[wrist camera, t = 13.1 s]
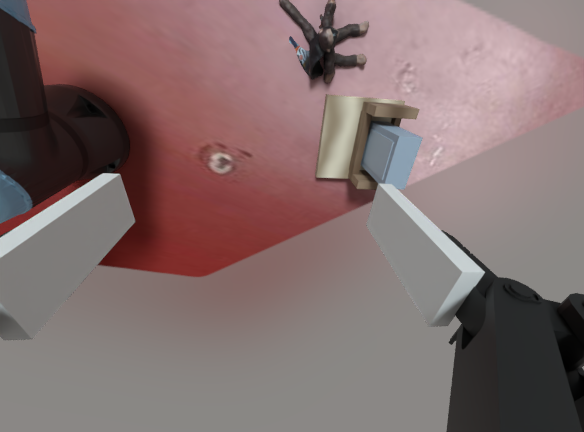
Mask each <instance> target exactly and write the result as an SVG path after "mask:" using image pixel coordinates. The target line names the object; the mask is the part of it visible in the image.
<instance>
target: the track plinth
mask: <svg viewBox="0 0 584 432" xmlns="http://www.w3.org/2000/svg"><path fill="white" fill-rule="evenodd" d="M404 103H405V101H402V100H390V99H377V98H364V97H351V96H338V95H326V98H325V105H324V113H323V120H322V128H321V135H320V142H319V150H318V157H317V165H316V172H315V175H316V177H319V178H344V179H350V180H351V182H352V183H353V184H354V186H355V187H356V188H357V189H374V190H377V186H378V182H377V181H376V180H375V179H374V178H373V177H372V176H371V175H370V174H369V173H368V172H367V171H366V170H365V169H364V168H363V167H362V166H361V161H362V157H363V153H364V148H365V144H366V140H367V136H368V131H369V127H370V123H371V121H385V122H389V123H391V124H393V125H395V126H398V127H399V125H400V122H401V119H402V118H405V119H416V118H417V115H418V112H419V109H417V108H414V107H410V106H406V105H404Z"/></svg>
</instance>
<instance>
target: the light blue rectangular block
mask: <svg viewBox="0 0 584 432" xmlns="http://www.w3.org/2000/svg"><path fill="white" fill-rule="evenodd" d="M421 141H422V137H420V136H418V135H415V134H413V133H411V132H409V131H407V130H404V129H402V128H400V127H398V126H395V125H393V124H391V123H389V122H385V121H371V123H370V127H369V131H368V136H367V140H366V144H365V148H364V153H363V157H362V161H361V166H362V167H363V168H364V169H365V170H366V171H367V172H368V173H369V174H370V175H371V176H372V177H373V178H374V179H375V180H376V181H377V182H378V184H392V185H393V186H394V187H395V188H396V189H405V186H406V183H407V180H408V178H409V175H410V172H411V169H412V166H413V164H414V161H415V158H416V155H417V152H418V150H419V147H420V144H421Z"/></svg>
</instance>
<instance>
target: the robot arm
mask: <svg viewBox="0 0 584 432" xmlns="http://www.w3.org/2000/svg"><path fill="white" fill-rule="evenodd" d="M34 33H36V29H35V27H34V26H33V25H32V22H31V18H30V14H29V10H28V6H27V2H26V0H0V223H2V222H5V221H7V220H9V219H11V218H13V217H15V216H17V215H19V214H23V213H26V212H27V211H29V210H30V209H31V208H33V207H35V206H36V205H38V204H40V203H41V202H43V201H44V200H46V199H48V198H49V197H51V196H53V195H54V194H56V193H57V192H59V191H61V190H62V189H64V188H66V187H67V186H69V185H70V184H72V183H74V182H75V181H77V180H83V179H91V178H95V179H93V180H91V181H90V182H88V183H87V184H85V185H83V186H82V187H80V188H79V189H77V190H75V191H74V192H72V193H71V194H69V195H67V196H66V197H64V198H63V199H61V200H59V201H58V202H56V203H55V204H53V205H52V206H50V207H48V208H47V209H45V210H44V211H42V212H40V213H39V214H37V215H36V216H34V217H32V218H31V219H29V220H28V221H26V222H24V223H23V224H21V225H20V226H18V227H16V228H15V229H13V230H11V231H9V232H6V233H4V234H3V235H1V236H0V337H1V338H2V339H3V340H25V339H33V338H34V337H35V335H36V334H37V333H38V332H39V331H40V330H41V328H42V327H43V326H44V325H45V324H46V323H47V322H48V320H49V319H50V318H51V317H52V316H53V315H54V314H55V312H56V311H57V310H58V309H59V308H60V307H61V306H62V305H63V303H64V302H65V301H66V300H67V299H68V298H69V297H70V295H71V294H72V293H73V292H74V291H75V290H76V289H77V288H78V286H79V285H80V284H81V283H82V282H83V281H84V279H85V278H86V277H87V276H88V275H89V274H90V273H91V272H92V270H93V269H94V268H95V267H96V266H97V265H98V264H99V262H100V261H101V260H102V259H103V258H104V257H105V256H106V254H107V253H108V252H109V251H110V250H111V249H112V248H113V247H114V245H115V244H116V243H117V242H118V241H119V240H120V239H121V237H122V236H123V235H124V234H125V233H126V232H127V231H128V229H129V228H130V227H131V226H132V225H133V224H134V223H135V218H134V215H133V212H132V209H131V206H130V203H129V200H128V197H127V194H126V191H125V188H124V185H123V182H122V178H121V175H120V174H111V173H113V172H114V171H116V170H117V169H119V168H120V167H121V166H122V165H123V164H124V163H125V162H126V160H127V158H128V155H129V149H130V144H129V138H128V134H127V131H126V129H125V127H124V125H123V123H122V121H121V120H120V118H119V117H118V116H117V114H116V113H115V112H114V111H113V110H112V109H111V108H110V107H109V106H108V105H107V104H106V103H105V102H104V101H102V100H101V99H100V98H98V97H97V96H95V95H94V94H92V93H90V92H88V91H86V90H84V89H81V88H78V87H75V86H71V85H64V84H56V85H45V86H44V84H43V79H42V73H41V68H40V62H39V57H38V51H37V46H36V40H35V35H34ZM366 226H367V228H368V229H369V231H370V232H371V234H372V235H373V237H374V239H375V240H376V242H377V244H378V245H379V247H380V249H381V250H382V252H383V253H384V255H385V257H386V258H387V260H388V262H389V263H390V265H391V266H392V268H393V270H394V271H395V273H396V274H397V276H398V278H399V279H400V281H401V283H402V284H403V286H404V288H405V289H406V291H407V292H408V294H409V296H410V297H411V299H412V300H413V302H414V304H415V305H416V307H417V308H418V310H419V312H420V313H421V315H422V317H423V318H424V320H425V322H426V323H427V325H428V326H429V327H432V326H448V325H449V324H450V322H451V321H452V319H453V318H454V316H455V315H456V317H457V318H458V319H459V321H460V322H461V323H462V324H461V325H460V327H459V328H458V329H457V331H456V332H455V334H454V335H453V336H452V338H451V339H450V341H449V343H450V344H451V345H452V344H453V342H454V341H456V349H455V359H454V368H453V377H452V387H451V396H450V405H449V414H448V424H447V432H584V370H583V369H582V367H583V366H584V295H583V294H577V293H575V294H570V295H569V296H568V297H567V298H566V299H565V300H564V301H563V302H562V303H558V302H553V301H549V300H545V299H543V298H542V297H541V296H540V295H538V294H537V293H536V292H535V291H534V290H532V289H531V288H529V287H528V286H526V285H524V284H522V283H520V282H518V281H515V280H511V279H508V278H498V277H497V276H496V275H495V274H494V273H493V272H492V271H490V270H489V269H488V268H487V267H486V266H485V265H484V264H483V263H482V262H481V261H479V260H478V259H477V258H476V257H475V256H474V255H473V254H470V251H469V250H467V249H466V248H465V247H463V245H462V244H461V243H460V242H459V241H458V240H457V239H455V238H454V237H453V236H451V235H449V234H448V233H446V232H444V231H443V230H440V229H439V228H438V227H437V226H436V225H434V224H433V223H432V222H431V221H430V220H429V219H428V218H427V217H426V216H425V215H424V214H423V213H422V212H421V211H420V210H419V209H417V208H416V207H415V206H414V205H413V204H412V203H411V202H410V201H409V200H408V199H407V198H406V197H405V196H404V195H402V193H401V192H400V191H398V190H397V189H396V188H395V187H394V186H393V185H392V184H378V186H377V190H376V193H375V197H374V200H373V203H372V207H371V210H370V214H369V217H368V221H367V225H366Z"/></svg>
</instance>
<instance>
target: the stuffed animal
mask: <svg viewBox="0 0 584 432" xmlns="http://www.w3.org/2000/svg"><path fill="white" fill-rule="evenodd" d="M279 2H280V4H281V6H282V7H283V9H285V10H286V11H287V12H288V13H289V14H290V16H291V17H292V18H293V19H294V20H295V21H296V22H297V23H298V24H299V25H300V26H301V28H302V30H303V33H304V35H305V37H306V39H307V40H308V41H309V43H310V51H306V50H304V49H302V48H301V47H300V46H299V45H298V44H297V43H296V42H295V41H294V40H293V38H292V37H291V36H290V38H289V42H290V43H291V44H292V45H294V47H295V50H296V53H297V56H298V58H299V61H300V63H301V65H302V67H303V69H304V70H305V72H306V73H307V74H308V75H309V76H310V77H311V79H312V80H314V79H315V78H317V77H318V76H321V75H322V74H323V68H322V66H321V64H320V61H319V60H320V59H321V58H322V57H323V55H324V69H325V74H324V80H325V83H330V81H331V79H332V77H333V75H334V74H335V69H334V68H335V65H334V64H337V65H339V66H352V65H354V66H356V65H357V64H359V65H364V64H365V63H366V57H365V56H364V55H363V54H359V55H351V56H343V55H340V54H337V53H335V51H334V47H335V44H336V43H337V42H339V41H341V40H342V39H344V38H346V37H348V36H352V37H355V36H359V35H361V34H363V33H365V32H366V31H367V29H368V27H369V22H368V21H365V22H363V23H361V24H348V25H347V26H345V27H343V28H340V29H335V28H333V27H332V23H331V21H332V18H333V15H334V12H335V9H336V4H335V0H329V1H328V3H327V4H326V7H325V13H324V17H323V16H322V14H321V15H320V19H321V25H320V26H319V28H320V29H321V30H320V31H319V33H318V34H317V33H316V32H315V30H314V28H313V27H312V25H311V24H310V23H308V21H307V20H306V19H305V18H304V17H303V16H302V15H301V14H300V12H299V11H298V10H297V8H296V7H295V6H294V5H293V4H292V3H291V2H290V1H289V0H279Z"/></svg>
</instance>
